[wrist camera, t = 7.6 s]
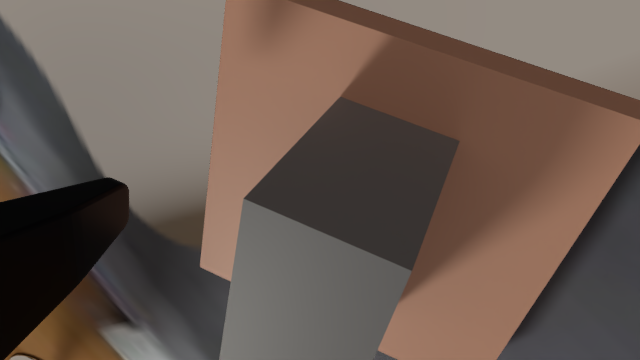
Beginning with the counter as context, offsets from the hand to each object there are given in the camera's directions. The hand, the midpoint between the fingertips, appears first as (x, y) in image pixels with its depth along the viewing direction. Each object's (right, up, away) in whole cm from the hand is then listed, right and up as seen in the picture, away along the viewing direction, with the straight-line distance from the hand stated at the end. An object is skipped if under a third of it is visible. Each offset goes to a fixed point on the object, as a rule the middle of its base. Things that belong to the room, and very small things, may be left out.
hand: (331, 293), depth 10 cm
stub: (+1, +2, +3) cm, 4 cm away
